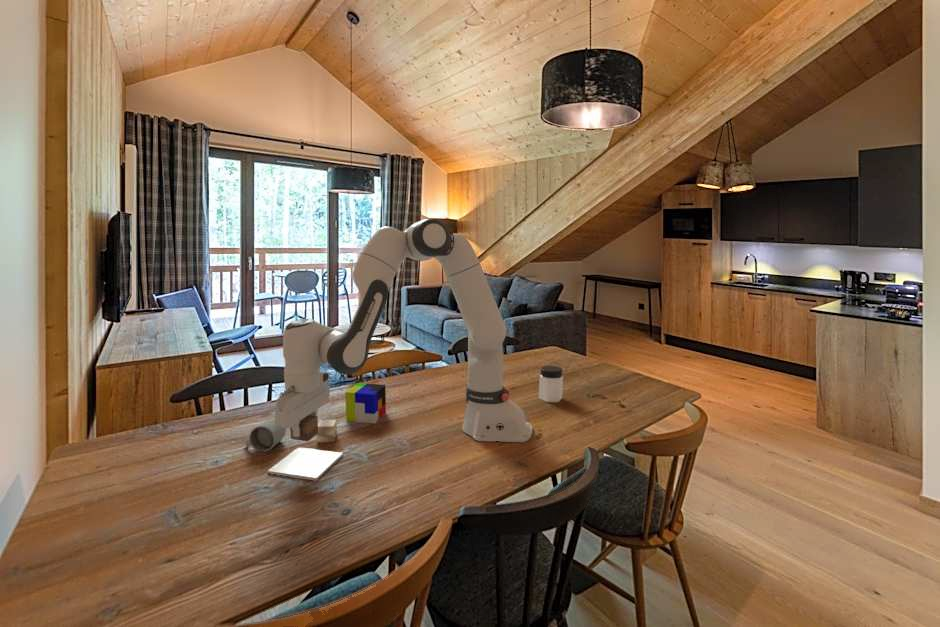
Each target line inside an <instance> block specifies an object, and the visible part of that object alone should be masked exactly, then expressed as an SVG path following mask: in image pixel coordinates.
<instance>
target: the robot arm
mask: <svg viewBox="0 0 940 627" xmlns="http://www.w3.org/2000/svg"><path fill="white" fill-rule="evenodd" d="M477 255H478V254H476V251H475V250H474V248H473V246H472V244H471V243H470V241H469V240H468V237H466V236H465V235H464V234H462V233H454V232H452V231H451V230H450V229H449V228H448V227H447V226H446V225H445V223H443V222H442V221H441V220H439V219H437V218H424V219H422V220H419V221H417V222H414V223H412V224H411V225H410V226H409V227H408V228H406V229H405V230H403V231H401V230H399V229H397V228H395V227H393V226H382V227H380V228H379V229H377V231H376V232H375V233H373V235H372V236H371V238H370V239H369V241H368V242H367V244H366V245H365V247H363V249H362V251H361V253H360V255H359V256H358V258H357V260H356V262H355V265H354V268H353V271H352V280H353V282H354V285H355V287H356V288H357V290H358V292H359V296H360V298H359V299H360V300H359V304H358V307H357V308H356V311H355V314H354V315H353V318H352V320H351V322H350V324H349V327H348V328H347V330H346V331H344V330H342V329H339V328H335V327H330V326H328V325H327V326H326V325H323V324H321V323H320V322H318V321H315V320H314V319H313V318H300V319H296V320H293V321H291V322H290V323H288V324H287V325H286V326H285V328H284V330H283V337H282V340H283V341H282V356H283V359H284V362H285V364H284V369H283V376H284V377H283V378H284V380H283V381H284V389H285V390H282V391H281V392H280V395H279V397H278V398H277V399H276V401H275V406H274V407H275V408H274V410H275V411H274V419H275V425H276V426H277V427H279V428H285V429H290V427H291V428H292V430H293V436H295V437H299V436H300V435H302V428H299V424H300V420H302V419H303V418H305V417H306V416H308V415H313V416H317V417H318V412H319V411H318V410H319V409H320V408H321V407H322V406H324V405H326V404H327V403H328V402H329V398H330V382H329V380H330V377H331V375H330V374H331V373H330V372H329V371H323V370H321V369H320V368H321V366H322V365H328V366H330V367H331V368H332V369H333V370H334V371H335V372H336V373H337V374H340V375H348V376H349V375H353V374H355V373H356V372H358V371H360V370H362V368H363V367H364V366H365V364H366V362H367V360H368V359H369V358H368V357H369V353H370V345H371V342H372V338H373V335H374V333H375V330H376V329H377V325H378V323H379V321H380V319H381V316H382V315H383V314H382V313H383V312H384V309H385V306H386V303H387V300H388V298H389V290H390V287H391V284H392V283H393V280H394V279H395V276H396V274H397V272H398V270H399V268H400V266H401V264H402V263H403V262H404V260H406V261H410V262H417V263H418V262H423V261H429V260H431V259H433V258H434V259H435V260H437V261H438V263H439V264H440V266H441V267H442V269H443V272H444V275H445V277H446V279H447V282H448V284H449V287H450V290H451V291H452V295H453V296H454V299H455V301H456V303H457V308H458V309H459V312H460V315H461V317H462V319H463V323H464V325H465V329H466V330H467V334H468V335H467V339H468V340H467V345H468V346H467V350H468V351H467V352H468V353H467V358H468V359H467V366H468V367H467V386H466V388H465V401H466V410H465V414H464V420H463V424H462V426H461V429H462V431H463V433H465V434H467V435H468V436H470V437H471V438H472V439H473V440H475V441H476V440H477V442H496V441H499V442H501V443H502V442H504V443H505V442H506V443H525V442H527V441H529V440H530V439H531V438H532V436H533V431H534V430H533V425H532V424H531V423H530V422H528V421H527V420H526V415H525V411H524V410H523V409H522V407H520V406H518V405H517V404H516V403H515V402H514V401H512V400H511V399H510V396H509V395H510V391H509V390H510V389H509V387H507V388H506V387H504V386H503V383H504V354H503V353H504V350H503V349H504V348H503V343H504V341H505V338H506V335H507V327H506V324H505V322H504V319H503V317H502V313H501V311H500V309H499V306H498V304H497V302H496V300H495V297H494V294H493V292H492V290H491V287H490V285H489V283H488V280H487V277H486V275H485V272H484V270H483V267H482V265H481V263H480V260H479V258H478V256H477ZM499 442H498V443H499Z"/></svg>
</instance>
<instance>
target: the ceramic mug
mask: <svg viewBox="0 0 940 627" xmlns="http://www.w3.org/2000/svg"><path fill="white" fill-rule="evenodd" d="M286 429H287V428H279V427H277V426H276V425H275V418H270V419H268V420H265V421H264V422H262V423H260V424H258V425H257V426H255V427H254V428H253V429H252V430H251V431H250V433H249V438H248V439H246V440H245V442H244V444H245V446H246V447H248V448H249V447H252V448H253V449H254V450H256V451H258V452H260V451H263V452H262V453H265V452H268V451H270V450H272V449H273V448H274V447H276V446H277V444H278V443H280V442H281V441H282V440H283V439H284V438H285V435H286V431H287V430H286Z"/></svg>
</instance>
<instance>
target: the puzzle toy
mask: <svg viewBox="0 0 940 627" xmlns="http://www.w3.org/2000/svg"><path fill="white" fill-rule="evenodd" d="M344 394H345V395H344V396H345V420H347V422H354V423H355V422H359V423H367V424H376V423H377V421H379V420H380V419H381V418H382V417H383V414H384V413H385V412H386V411H387V409H386V408H387V407H386V406H387V404H386V403H387V402H386V400H387V399H386V397H387V396H386V395H387V394H386V384H377V383H365V382H357V383H356V384H354V385H353V386H352V387H351V388H349V389H348V390H347V391H345V393H344ZM385 414H386V413H385ZM385 414H384V415H385Z"/></svg>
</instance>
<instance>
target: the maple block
mask: <svg viewBox="0 0 940 627" xmlns="http://www.w3.org/2000/svg"><path fill="white" fill-rule="evenodd" d="M337 424H338V423H337V419H319V420H318V434H317V435H316V443H331V442H332V443H333V442H335V441H336V439H337V438H336V437H337V436H338V432H337V431H338V429H337V427H338V426H337ZM335 438H336V439H335Z"/></svg>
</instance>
